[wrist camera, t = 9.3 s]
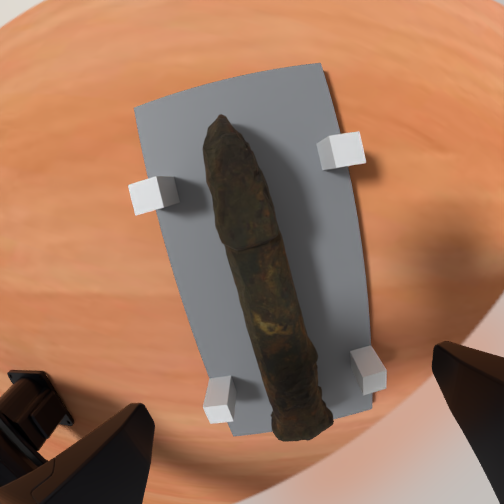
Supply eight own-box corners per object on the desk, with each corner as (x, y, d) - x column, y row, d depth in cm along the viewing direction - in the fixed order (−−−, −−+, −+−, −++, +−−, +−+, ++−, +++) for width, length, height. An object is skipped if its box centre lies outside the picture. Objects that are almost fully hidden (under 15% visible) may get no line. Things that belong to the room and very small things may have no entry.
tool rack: (234, 427, 21) (230, 464, 17) (139, 111, 16) (111, 95, 12) (368, 400, 20) (383, 434, 17) (317, 68, 15) (332, 41, 11)
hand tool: (326, 398, 19) (339, 444, 15) (271, 409, 19) (273, 457, 15) (275, 113, 15) (282, 87, 11) (203, 129, 15) (183, 109, 11)
